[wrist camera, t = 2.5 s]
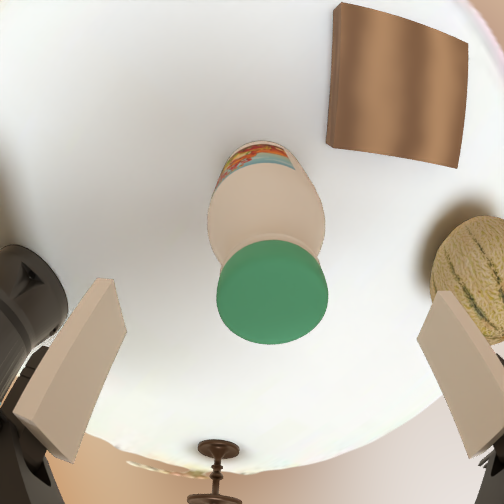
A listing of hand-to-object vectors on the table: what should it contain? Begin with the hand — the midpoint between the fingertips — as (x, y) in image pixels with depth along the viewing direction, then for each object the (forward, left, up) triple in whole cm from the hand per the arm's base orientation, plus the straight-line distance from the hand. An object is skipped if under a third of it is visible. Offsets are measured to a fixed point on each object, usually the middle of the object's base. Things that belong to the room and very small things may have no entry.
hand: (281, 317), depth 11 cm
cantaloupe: (+26, -7, -21) cm, 34 cm away
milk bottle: (0, 0, -21) cm, 21 cm away
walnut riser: (+13, +11, -21) cm, 27 cm away
